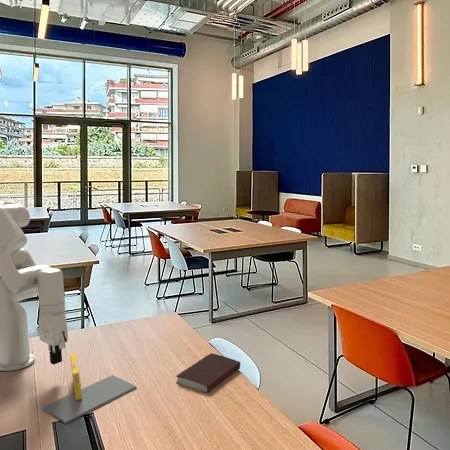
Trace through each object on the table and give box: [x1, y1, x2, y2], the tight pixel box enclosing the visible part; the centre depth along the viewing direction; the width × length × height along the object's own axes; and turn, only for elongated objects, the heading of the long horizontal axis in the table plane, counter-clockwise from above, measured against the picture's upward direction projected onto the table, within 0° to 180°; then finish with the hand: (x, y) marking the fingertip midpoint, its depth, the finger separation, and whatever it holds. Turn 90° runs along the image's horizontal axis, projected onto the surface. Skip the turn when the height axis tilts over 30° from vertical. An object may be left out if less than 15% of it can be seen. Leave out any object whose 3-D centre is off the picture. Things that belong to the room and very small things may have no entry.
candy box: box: [69, 353, 82, 400], centre depth 133 cm, size 16×2×8 cm, turn 22°
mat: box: [42, 374, 137, 424], centre depth 129 cm, size 12×24×1 cm, turn 141°
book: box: [175, 352, 241, 394], centre depth 142 cm, size 12×19×3 cm, turn 147°
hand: (56, 362), depth 140 cm, fingers closed
